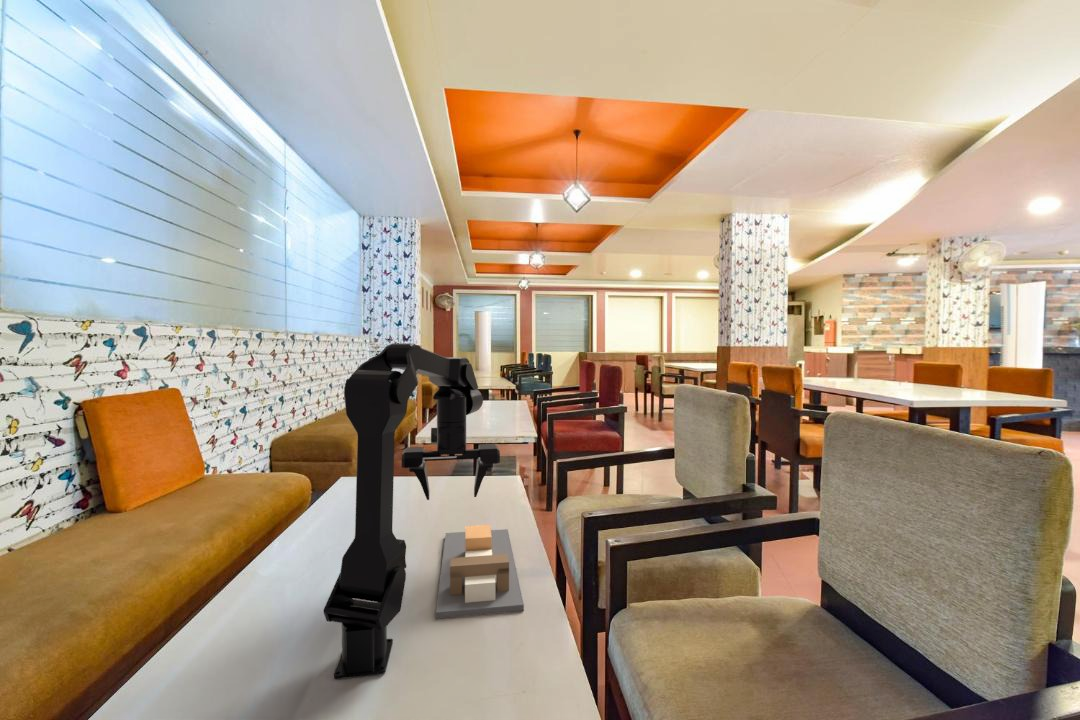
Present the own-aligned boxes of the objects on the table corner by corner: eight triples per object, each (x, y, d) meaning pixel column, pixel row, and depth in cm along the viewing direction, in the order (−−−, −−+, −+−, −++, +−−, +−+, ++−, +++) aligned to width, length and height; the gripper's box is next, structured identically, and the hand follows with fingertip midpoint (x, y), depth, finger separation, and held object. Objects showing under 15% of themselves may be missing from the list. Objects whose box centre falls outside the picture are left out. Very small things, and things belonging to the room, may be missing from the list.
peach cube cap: (491, 562, 86) (491, 537, 86) (465, 564, 85) (465, 538, 85) (490, 548, 92) (490, 524, 92) (465, 550, 91) (465, 526, 91)
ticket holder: (523, 610, 72) (523, 574, 72) (436, 618, 70) (435, 581, 70) (507, 533, 102) (507, 507, 102) (445, 537, 100) (445, 511, 100)
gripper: (494, 412, 97) (494, 482, 98) (407, 415, 94) (407, 487, 94) (500, 421, 87) (500, 500, 87) (400, 424, 83) (401, 506, 84)
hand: (451, 497), depth 88 cm, fingers open, 9 cm apart
